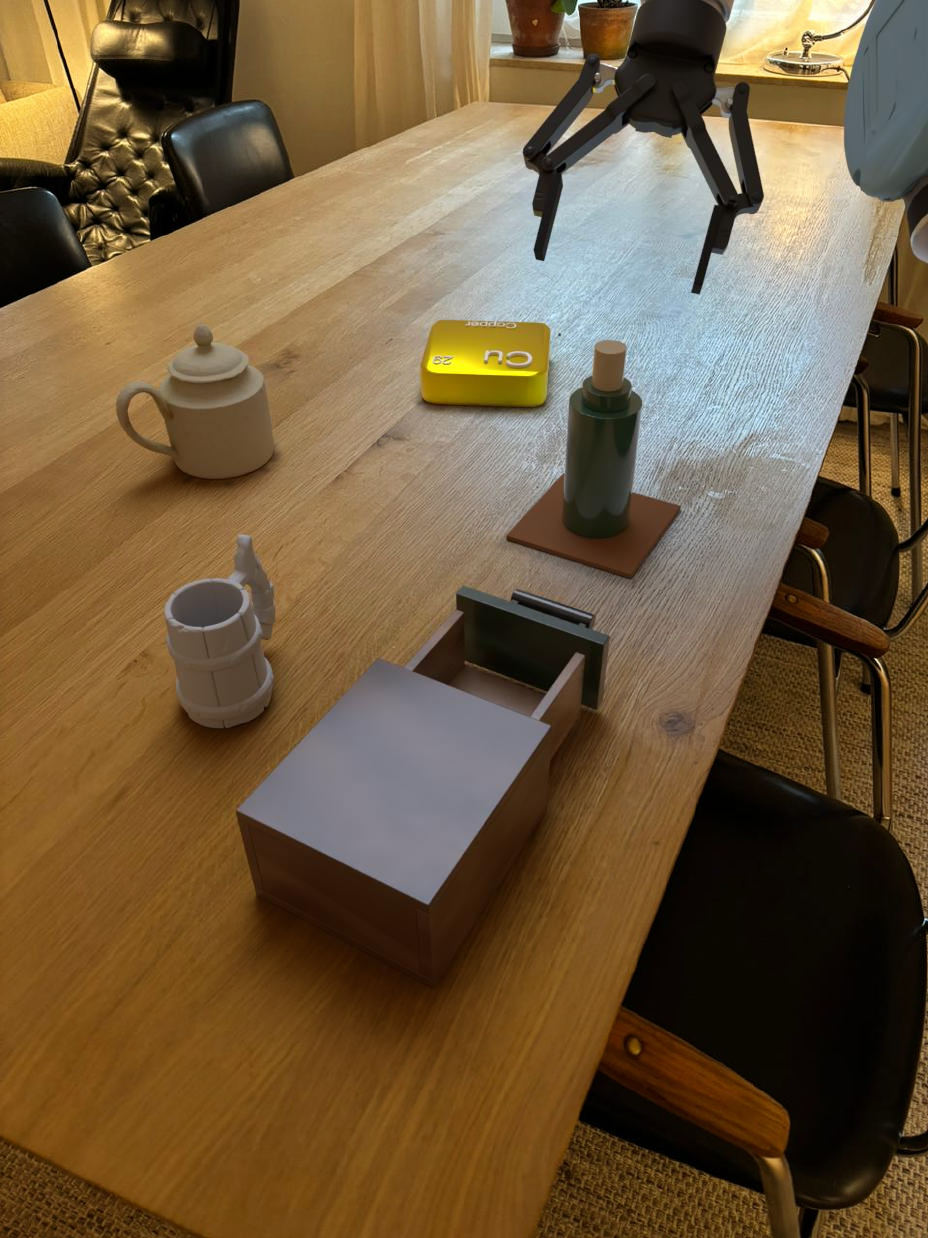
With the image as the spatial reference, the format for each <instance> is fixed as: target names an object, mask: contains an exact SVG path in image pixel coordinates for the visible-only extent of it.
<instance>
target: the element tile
mask: <svg viewBox="0 0 928 1238" xmlns="http://www.w3.org/2000/svg"><path fill="white" fill-rule="evenodd" d="M430 327H431V328H430V331H429V334H428V337H427V341H426V345H425V347H424V350H423V351H424V352H423V355H422V358H421V360H420V361H421V362H420V365H419V374H420V375H419V376H420V377H419V378H420V394H421V398H422V399H423V400H424V401H425V402H427V403H429V404H434V405H451V406H452V405H453V406H475V407H476V406H478V407H501V408H503V407H505V408H506V407H507V408H536V407H539V406H541V405H543V404H544V403H545V402H546V400H547V396H548V383H549V371H550V356H551V353H550V352H551V332H552V331H551V328H550V327H549V326H548V325H547V323H544V322H535V321H533V322H532V321H505V320H503V321H501V320H499V321H498V320H471V319H470V320H468V319H467V320H466V319H439V320H437V321H436V322H435V323H433V324H432V325H431V326H430Z"/></svg>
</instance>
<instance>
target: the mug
mask: <svg viewBox="0 0 928 1238" xmlns="http://www.w3.org/2000/svg"><path fill="white" fill-rule="evenodd" d="M236 544H237V548H236V552H235V553H234V557H233V560H234V561H233V563H234V569H233V572H232V573H231V574H230V575H229V576H228V577H227V578H217V577H215V578H209V577H208V578H203V579H202V578H201V579H199V580H196V581H192V582H189V583H187V584H185V585H182V586H181V587H179V588H177V589H176V590H175V591H174V592H173V593H172V594H170V596H169V598H168V600H167V602H166V603H165V605H164V609H163V616H164V620H165V625H166V630H167V634H166V636H165V644H166V647H167V651H168V653H169V656H170V657H171V659H172V660H173V663H174V667H175V675H176V677H177V678H176V680H175V683H174V685H175V693H176V697H177V701H178V703H179V704H180V706H181V707H182V709H183V710H184V711H185V712H186V713H187V715H188V717H189V718H190V720H192V721H193V722H195V723H197V724H198V725H201V726H203V727H206V728H211V729H229V728H232V727H235V726H239V725H241V724H246V723H248V722H250V721H252V720H255V719H257V717H259V716H260V715H261V714H262V713H263V712H264V711H265V708H267V707H268V706H269V704H270V702H271V699H272V693H273V692H272V691H273V688H274V683H275V676H274V672H273V668H272V666H271V664H270V662H269V660H268V659H267V658H266V657H265V653H264V650H263V649H264V648H263V645H262V640H263V641H269V640H271V638H272V634H273V625H274V624H275V623H276V604H275V602H274V599H275V588H274V584H273V582H271V581H270V579H269V578H268V574H267V572H266V571H265V570H264V568H263V565H262V564H261V562H260V559H259V558H258V557H259V556H258V555H256V552H255V549H254V546H253V539H252V535H248V534H238V535H237V537H236ZM246 585H247V586H248V587H249V588H250V594H249V591H248V590H247V589H246V588H245V586H246Z"/></svg>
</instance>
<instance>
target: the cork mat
mask: <svg viewBox="0 0 928 1238" xmlns="http://www.w3.org/2000/svg"><path fill="white" fill-rule="evenodd" d="M564 475H565V472H563V473H562V474H561V475H560V476H559V477H558V478H557V479H556V481H554V483H553V484H552V485H551V486H550V487H549V488H548V489H547V490H546V491H545V493H543V495H542V496H541V497H540V498H539V499H538V500H537V501H536V502H535V504H533V505H532V507H530V509H529V510H528V511H527V512H526V513H525V514H524V516H522V518H520V520H519V521H518V522H517V523H516V524H515V525H514V527H513V528H511V530H510V531H509V532H508V533H507V534H506V538H505V539H506V540H507V541H510V542H514V543H517V544H520V545H523V546H526V547H529V548H533V549H536V550H539V551H542V552H545V553H548V554H552V555H555V556H557V557H561V558H564V559H567V560H571V561H573V562H577V563H580V564H583V565H586V566H590V567H593V568H596V569H599V570H602V571H605V572H609V573H612V574H614V575H618V576H621V577H624V578H627V579H632V578H633V576H634V575H635V573H636V572H637V570H638V569H639V568H640V566H641V565H642V564H643V562H644V561H645V559H646V558H647V556H648V555H649V554H650V553H651V552H652V549H653V548H654V547H655V546H656V544H657V542H658V541H659V540H660V538H661V537H662V535H663V534H664V533H665V531H666V530H667V528H668V527H669V526H670V524H671V523H672V521H673V520H674V519H675V517H676V516H677V514H678V513H679V512H680V510H681V505H679V504H676V503H673V502H669V501H665V500H662V499H659V498H654V497H651V496H647V495H644V494H640V493H637V492H633V491H632V499H631V508H630V516H629V524H628V526H627V528H626V529H625V530H624V531H623V532H622V533H620V534H619V535H616V536H614V537H610V538H604V539H592V538H586V537H582V536H579V535H576V534H574V533H572V532H571V531H569V530H568V529H567V528H566V527H565V526H564V524H563V522H562V507H563V491H564Z"/></svg>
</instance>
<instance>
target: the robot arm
mask: <svg viewBox="0 0 928 1238" xmlns="http://www.w3.org/2000/svg"><path fill="white" fill-rule="evenodd" d="M639 1H640V6H639V7H638V8H637V11H636V15H635V18H634V22H633V26H632V31H631V34H630V39H629V43H628V46H627V50H626V51H627V52H626V55H625V58H624V59H623V61H622V62H621V64H620V65H619V66H618V67H617V66H613V65H611V64H607V63H604V62H601V59H600V56H599V55H598V54H596V53H591V54H589V55H587V56H586V58H585V60H584V63H583V65H582V69H581V71H580V74H579V76H578V79H577V80H576V81H575V83H574V84H573V85H572V87H571V88H570V89H569V90H568V91H567V93H566V94H565V95H564V97H563V98H561V100H560V101H559V103H558V104H557V105H556V107H554V109H553V110H552V111H551V113H550V114H549V115H548V116H547V118H546V119H544V121H543V123H542V124H541V125H540V126H539V128H538V129H537V130H536V131H535V132H534V133H533V135H532V137H530V139H529V140H528V141H527V142H526V144H524V147H523V148H522V157H523V161H524V165H525V168H527V170H531V171H534V172H535V173H537V175H538V179H537V182H536V187H535V191H534V194H533V200H532V202H531V205H532V212H533V216H535V217H537V218H538V217H539V218H540V222H539V225H538V230H537V233H536V238H535V241H534V245H533V249H532V250H533V254H534V258H535V260H536V261H541V262H545V260H546V256H547V253H548V249H549V244H550V239H551V236H552V231H553V228H554V224H555V220H556V215H557V212H558V207H559V203H560V200H561V196H562V192H563V188H564V181H563V174H564V173H566V172H567V171H568V170H570V168H572V167H573V166H574V165H576V164H577V163H578V162H579V161H581V160H583V158H584V157H586V156H587V155H589V154H590V153H591V152H592V151H594V150H596V149H597V147H599V146H600V145H602V143H604V142H605V141H606V140H608V139H609V138H610V137H612V136H613V135H617V134H618V133H620V132H621V131H623V130H624V129H625V128H626V127H627V126H629V125H630V127H631V128H633V129H634V131H635V132H637V133H642V134H647V133H655V134H657V135H658V136H661V137H664V138H669V139H672V137H674V136H677V135H680V134H681V136H682V139H683V140H684V142H685V144H686V146H687V147H688V149H690V151H691V154H692V155H693V157H694V159H695V161H696V163H697V166H698V167H699V170H700V172H701V174H702V176H703V177H704V180H705V183H706V184H707V185H708V188H709V189H710V192H711V194H712V196H713V198H714V200H715V202H716V204H713V209H712V212H711V216H710V219H709V223H708V227H707V231H706V235H705V238H704V242H703V246H702V250H701V253H700V257H699V261H698V265H697V268H696V273H695V275H694V280H693V283H692V286H691V290H690V293H692V294H695V295H699V296H700V295H701V292H702V289H703V285H704V282H705V278H706V274H707V270H708V267H709V264H710V259H711V256H712V254H717V255H721V256H723V255H724V253H725V252H726V250H727V248H728V246H729V242H730V239H731V235H732V232H733V228H734V224H735V221H736V218H737V217H738V216H740V215H745V214H749V215H755V214H757V213H758V212H759V210H760V209H761V206H762V203H763V201H764V198H765V193H764V189H763V183H762V179H761V173H760V168H759V163H758V159H757V155H756V149H755V145H754V140H753V134H752V130H751V125H750V120H749V115H748V106H749V105H748V104H749V98H750V92H751V86H750V84H749V83H747V82H745V81H740V82H738V83H737V84H736V85H735V87H731V86H718V85H717V84H716V80H715V77H716V72H717V68H718V64H719V60H720V56H721V53H722V49H723V45H724V41H725V37H726V34H727V27H728V26H727V23H728V21H730V19H731V18H730V17H731V13H732V11H733V6H734V2H735V0H639ZM609 85H613V87H614V91H615V93H616V95H617V97H616V98H615V99H613V100H612V101H610V103H609V104H607V106H606V108H605V109H604V110H603V111H601V112H600V113H599V114H597V116H595V117H594V118H593V119H591V120H590V121H588V122H587V123H586V124H585V125H584V126H582V127H581V128H580V129H579V130H577V131H576V132H574V134H572V135H571V136H570V137H568V138H567V139H566V140H565V141H563V142H562V143H561V144H559V145H558V146H557V147H555V146H556V145H557V144H558V142H559V141H560V140H561V138H562V137H563V136H564V135H565V133H566V132H567V131H568V130H569V128H570V127H571V126H572V125H573V123H574V122H575V121H576V120H577V118H579V116H580V115H581V114H582V112H583V111H584V110H585V109H586V108H587V106H588V105H589V103H590V102H591V100H592V98H593V97H594V94H600V93H601V92H603V91H604V89H605V88H606V87H607V86H609ZM713 105H716V106H718V107H719V110H720V114H721V116H722V118H725V119H728V133H729V138H730V144H731V149H732V153H733V158H734V163H735V168H736V172H737V177H738V181H739V187H740V191H741V192H740V193H739V192H738V191H737V189H736V187H735V184H734V182H733V180H732V178H731V177H730V174H729V172H728V170H727V169H726V166H725V164H724V162H723V161H722V158H721V156H720V153H719V152H718V150H717V148H716V146H715V144H714V142H713V139H712V138H711V135H710V134H709V132H708V130H707V126H706V122H705V120H704V117H703V116H702V115H703V114H704V113H706V112H707V111H708V110H709V109H710V108H711V107H712V106H713ZM554 147H555V148H554ZM843 148H844V156H845V161H846V166H847V167H846V168H847V170H848V174H849V176H850V178H851V180H852V181H853V183H854V184H855V186H856V187H859V189H860V191H861V192H863V193H864V194H865V195H866V196H867V197H872V198H876V199H878V200H879V201H881V202H883V203H893V202H895V201H899V200H903V204H904V207H905V214H906V220H907V226H908V232H909V237H910V238H909V241H910V246H911V250H912V253H913V255H914V256H915V258H917V259H919V260H920V261H922V262H924V263H926V264H928V0H875V1H874V3H873V6H872V8H871V10H870V12H869V15H868V17H867V19H866V23H865V25H864V28H863V31H862V33H861V36H860V40H859V42H858V47H857V49H856V54H855V56H854V60H853V62H852V66H851V71H850V75H849V79H848V85H847V90H846V98H845V105H844V117H843ZM552 149H553V150H552Z"/></svg>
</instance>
